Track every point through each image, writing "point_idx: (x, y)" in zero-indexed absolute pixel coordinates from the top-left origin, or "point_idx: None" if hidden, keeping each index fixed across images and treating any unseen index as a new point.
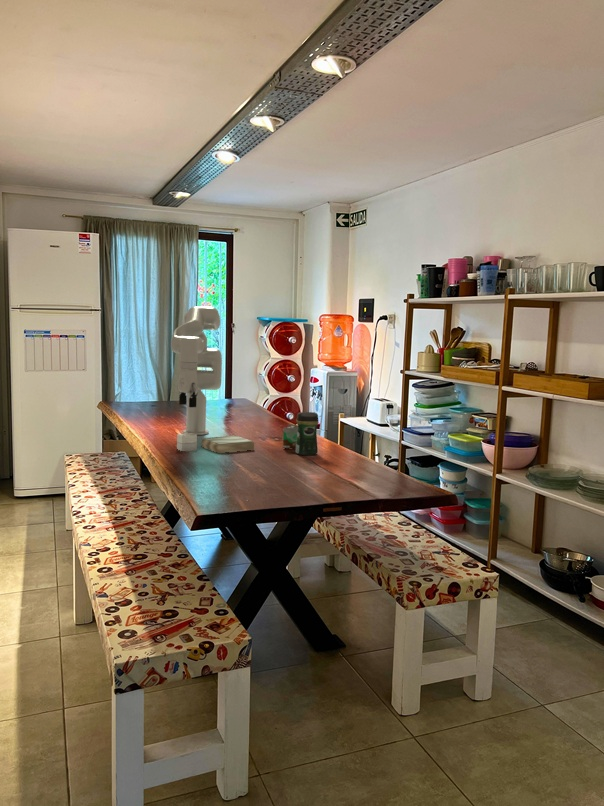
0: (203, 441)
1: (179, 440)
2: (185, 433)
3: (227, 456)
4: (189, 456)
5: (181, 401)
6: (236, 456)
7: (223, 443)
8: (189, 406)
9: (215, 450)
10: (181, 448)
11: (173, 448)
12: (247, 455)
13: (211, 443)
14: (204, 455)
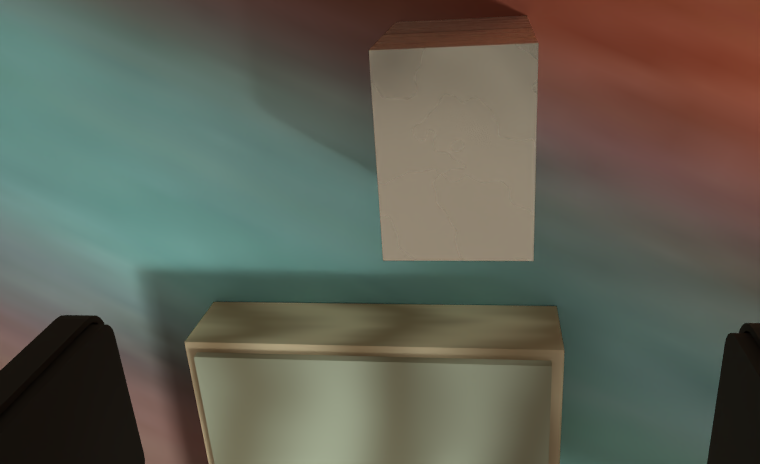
0: (512, 338)
1: (456, 34)
2: (527, 168)
3: (87, 313)
4: (152, 4)
5: (750, 421)
6: None
7: (209, 403)
8: (57, 319)
9: (259, 311)
10: (403, 26)
11: (608, 3)
12: None
13: (329, 340)
14: (165, 160)
